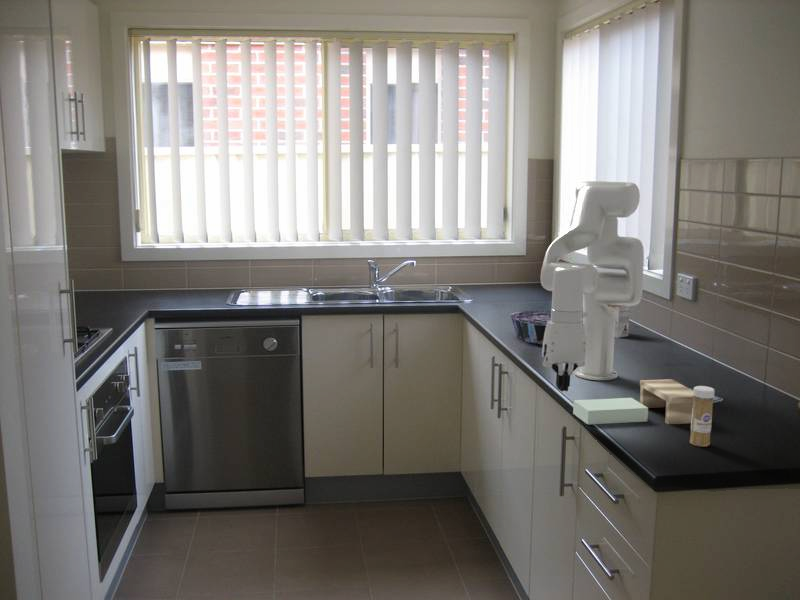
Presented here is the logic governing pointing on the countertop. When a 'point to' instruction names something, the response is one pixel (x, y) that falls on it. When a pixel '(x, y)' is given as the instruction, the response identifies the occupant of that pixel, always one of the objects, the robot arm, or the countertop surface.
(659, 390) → the birch shelf
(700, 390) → the sprinkles bottle
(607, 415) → the mint green block
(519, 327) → the decorative bowl
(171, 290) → the countertop surface
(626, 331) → the coffee box
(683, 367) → the countertop surface
